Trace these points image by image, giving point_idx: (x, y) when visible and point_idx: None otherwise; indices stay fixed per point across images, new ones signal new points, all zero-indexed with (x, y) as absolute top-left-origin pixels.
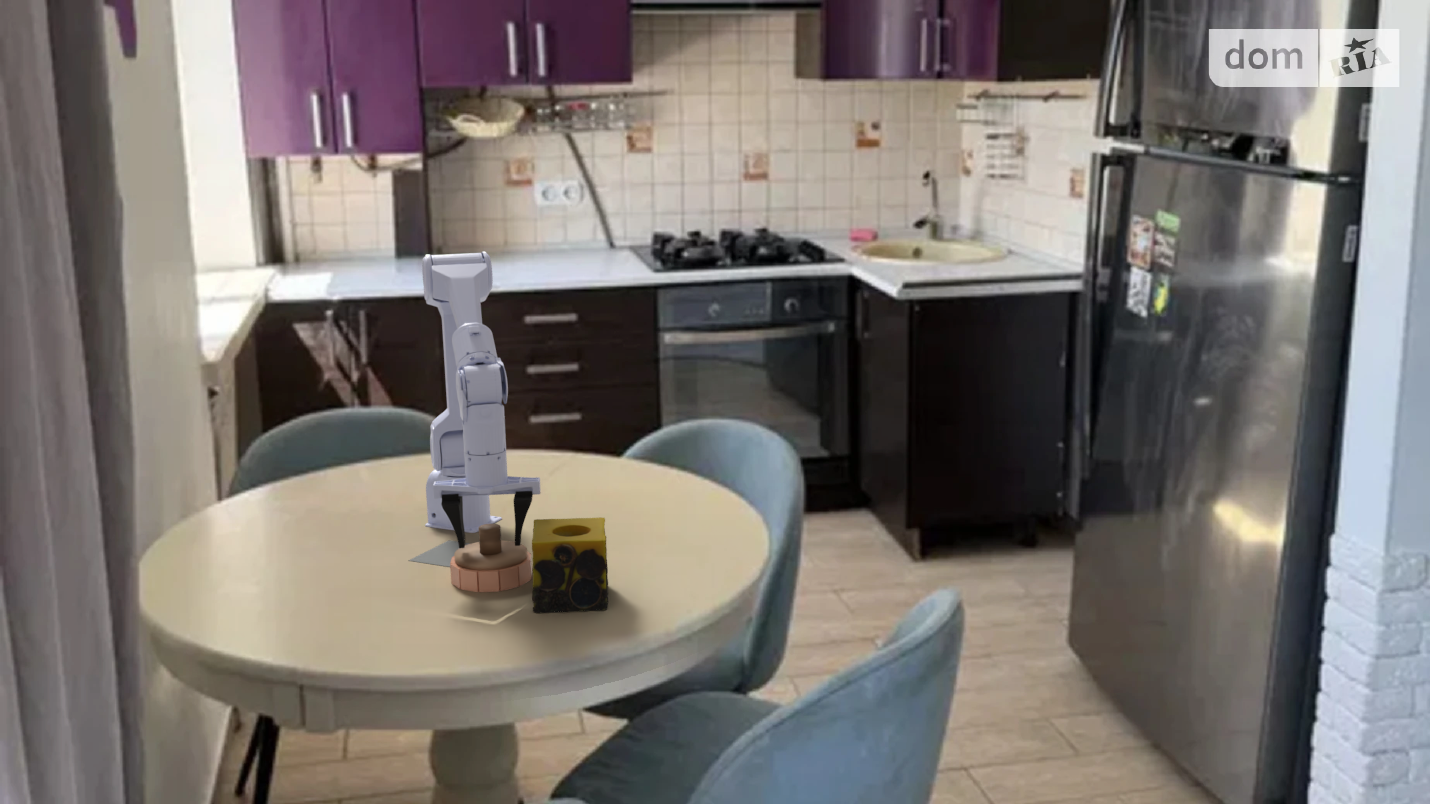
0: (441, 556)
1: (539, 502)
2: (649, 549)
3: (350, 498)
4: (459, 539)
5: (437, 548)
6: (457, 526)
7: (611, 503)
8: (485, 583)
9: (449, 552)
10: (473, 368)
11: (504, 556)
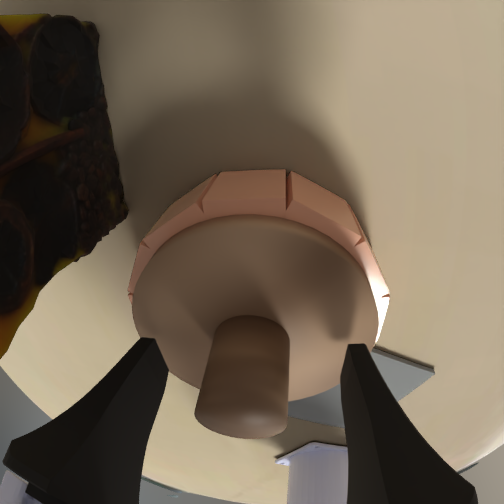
0: None
1: (238, 474)
2: (43, 354)
3: None
4: (370, 369)
5: None
6: (387, 418)
7: (158, 457)
8: (261, 182)
9: None
10: None
11: (190, 295)
